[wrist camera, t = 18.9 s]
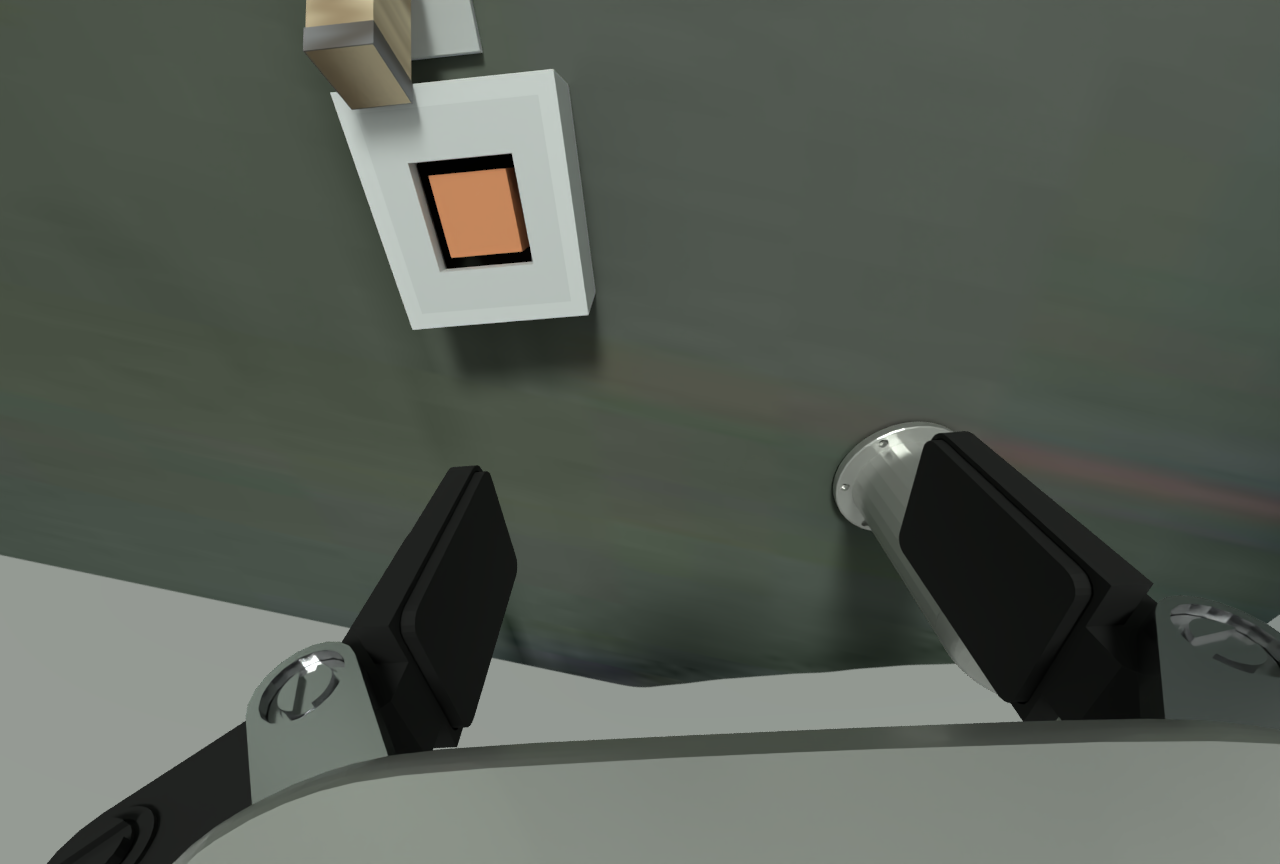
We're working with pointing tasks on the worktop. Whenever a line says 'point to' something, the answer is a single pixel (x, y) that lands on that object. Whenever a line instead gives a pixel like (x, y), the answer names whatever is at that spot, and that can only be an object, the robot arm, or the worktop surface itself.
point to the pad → (443, 29)
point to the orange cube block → (480, 212)
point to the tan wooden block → (362, 49)
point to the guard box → (464, 128)
